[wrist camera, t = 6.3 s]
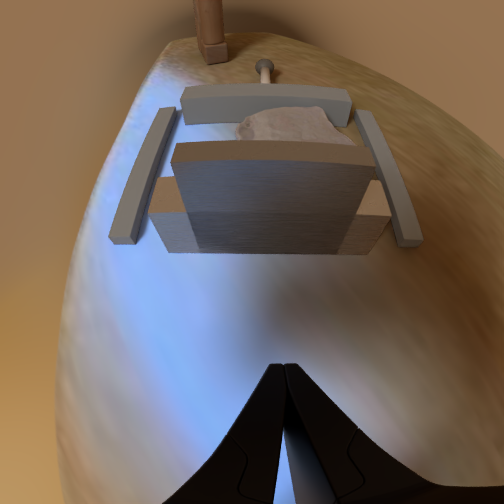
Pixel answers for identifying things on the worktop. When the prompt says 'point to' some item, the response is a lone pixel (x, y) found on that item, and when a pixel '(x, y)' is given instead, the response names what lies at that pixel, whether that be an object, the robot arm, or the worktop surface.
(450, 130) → the worktop surface
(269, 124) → the stone block
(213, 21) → the wooden block
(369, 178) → the bar
